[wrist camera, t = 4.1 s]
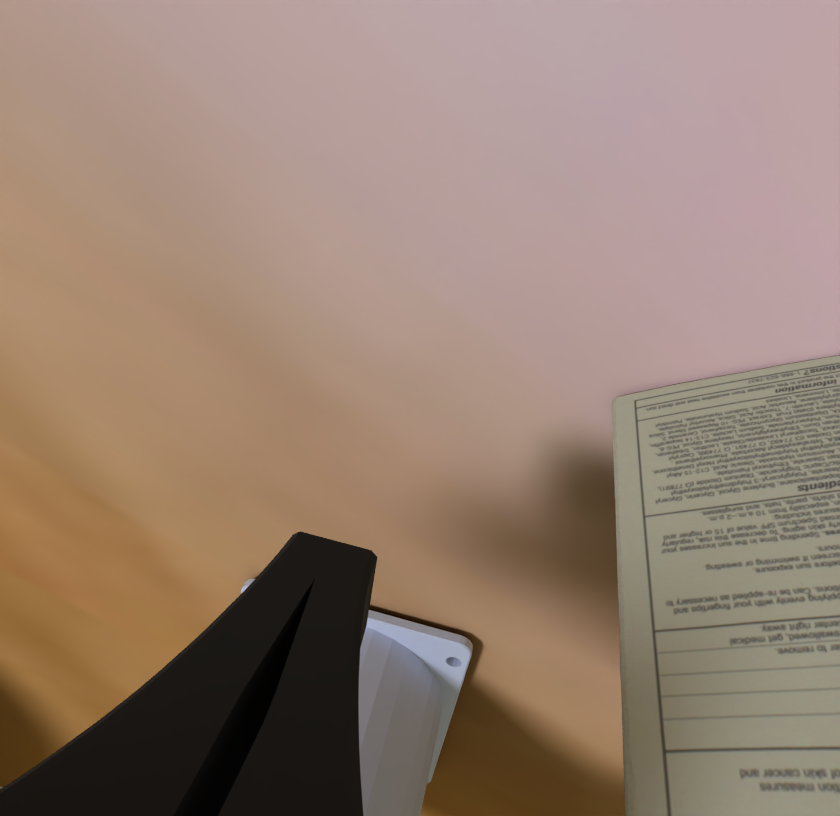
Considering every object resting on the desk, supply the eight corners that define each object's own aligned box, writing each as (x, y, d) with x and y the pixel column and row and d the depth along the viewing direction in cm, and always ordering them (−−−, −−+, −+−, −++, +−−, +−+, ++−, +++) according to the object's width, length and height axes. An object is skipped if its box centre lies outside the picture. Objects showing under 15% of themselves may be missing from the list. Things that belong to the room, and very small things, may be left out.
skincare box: (642, 520, 19) (677, 1142, 10) (607, 386, 17) (605, 1009, 7) (913, 490, 17) (1319, 1267, 7) (910, 330, 15) (1478, 1126, 5)
